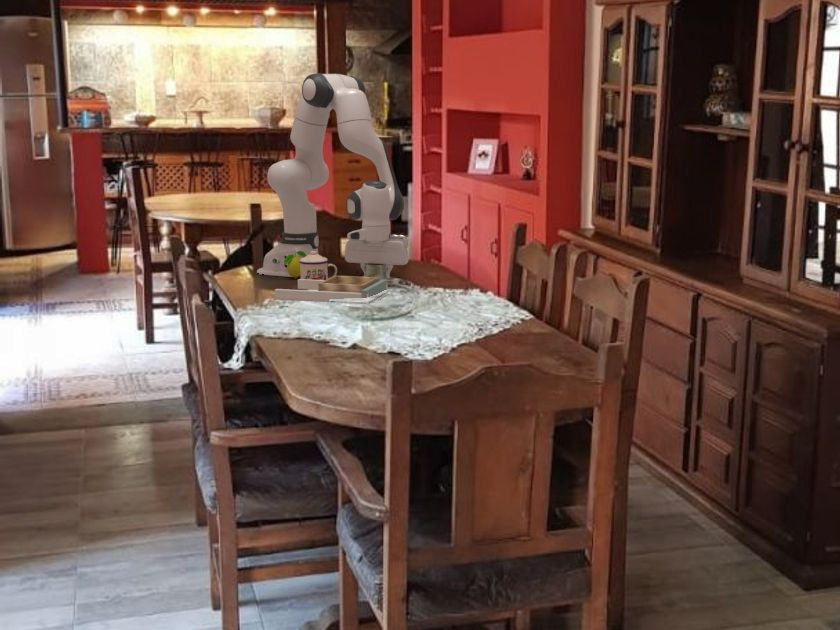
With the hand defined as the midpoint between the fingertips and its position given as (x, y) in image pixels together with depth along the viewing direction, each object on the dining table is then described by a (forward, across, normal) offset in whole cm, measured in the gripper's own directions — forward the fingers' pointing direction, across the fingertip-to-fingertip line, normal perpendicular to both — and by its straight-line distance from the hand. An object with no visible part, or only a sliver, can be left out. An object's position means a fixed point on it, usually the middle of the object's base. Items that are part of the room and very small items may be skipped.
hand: (376, 277), depth 338 cm
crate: (+3, +2, +18) cm, 18 cm away
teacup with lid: (+4, +20, 0) cm, 20 cm away
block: (+3, 0, 0) cm, 3 cm away
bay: (+4, +8, +18) cm, 20 cm away
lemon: (+4, +33, -13) cm, 36 cm away
